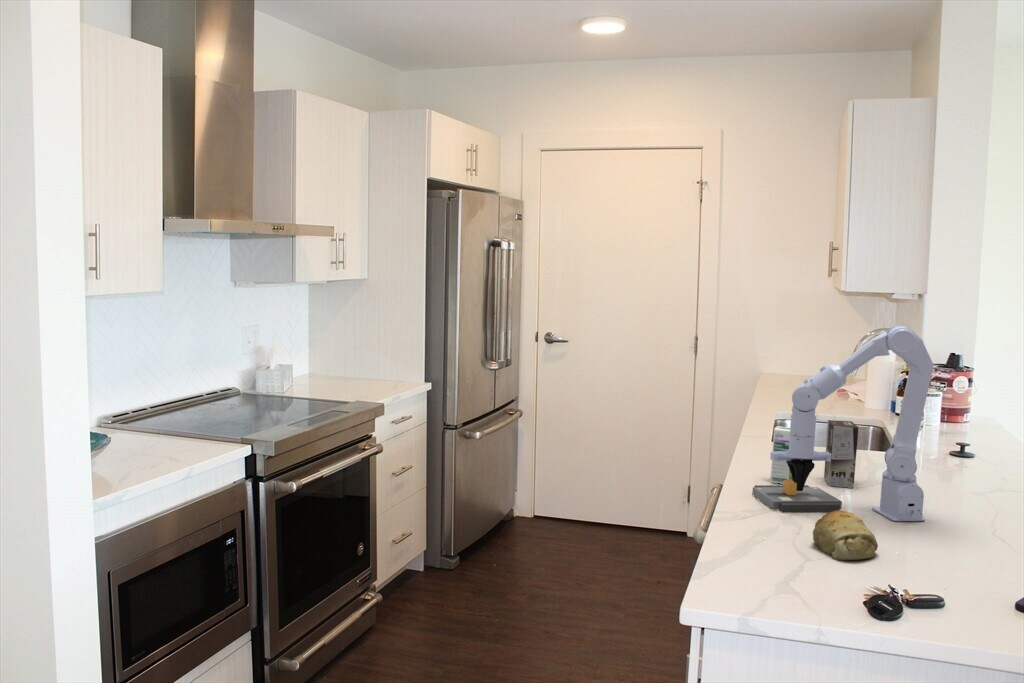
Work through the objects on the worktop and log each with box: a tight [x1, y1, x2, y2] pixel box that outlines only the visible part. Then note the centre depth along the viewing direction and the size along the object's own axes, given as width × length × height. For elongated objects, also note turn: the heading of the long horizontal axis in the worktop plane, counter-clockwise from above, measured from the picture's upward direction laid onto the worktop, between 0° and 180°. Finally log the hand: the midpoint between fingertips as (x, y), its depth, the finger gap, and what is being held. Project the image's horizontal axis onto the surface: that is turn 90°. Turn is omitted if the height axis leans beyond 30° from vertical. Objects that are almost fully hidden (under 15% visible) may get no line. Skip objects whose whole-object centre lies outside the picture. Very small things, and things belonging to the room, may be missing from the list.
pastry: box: [812, 510, 879, 561], centre depth 174 cm, size 14×12×8 cm
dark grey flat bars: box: [754, 484, 841, 513], centre depth 207 cm, size 16×14×2 cm
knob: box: [782, 478, 797, 495], centre depth 207 cm, size 3×2×3 cm, turn 7°
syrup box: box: [769, 425, 793, 485], centre depth 225 cm, size 6×6×14 cm
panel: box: [751, 486, 843, 511], centre depth 207 cm, size 12×17×2 cm
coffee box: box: [823, 419, 860, 489], centre depth 226 cm, size 9×6×16 cm
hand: (798, 489), depth 207 cm, fingers closed
